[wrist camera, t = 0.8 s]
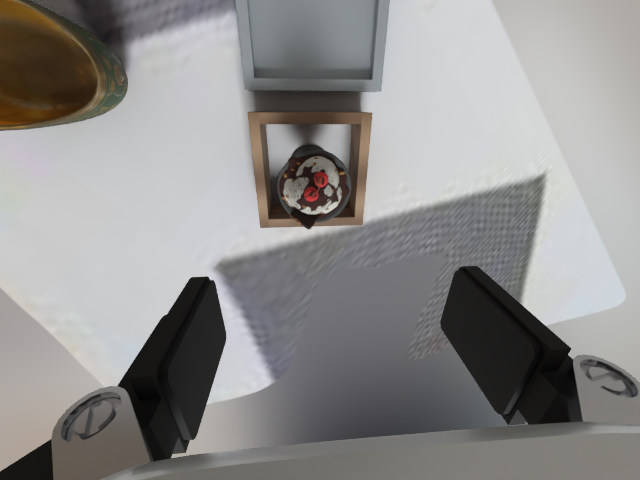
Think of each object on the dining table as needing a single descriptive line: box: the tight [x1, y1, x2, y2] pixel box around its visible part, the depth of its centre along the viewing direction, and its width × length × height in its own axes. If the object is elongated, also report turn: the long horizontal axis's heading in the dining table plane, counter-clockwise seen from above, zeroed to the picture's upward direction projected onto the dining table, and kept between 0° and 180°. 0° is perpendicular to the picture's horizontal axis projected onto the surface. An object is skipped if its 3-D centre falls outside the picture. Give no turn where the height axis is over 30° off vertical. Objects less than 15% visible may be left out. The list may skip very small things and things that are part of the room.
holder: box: [248, 111, 372, 228], centre depth 30 cm, size 12×12×5 cm
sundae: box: [277, 145, 351, 229], centre depth 26 cm, size 7×7×15 cm
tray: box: [235, 0, 390, 92], centre depth 24 cm, size 14×14×2 cm
